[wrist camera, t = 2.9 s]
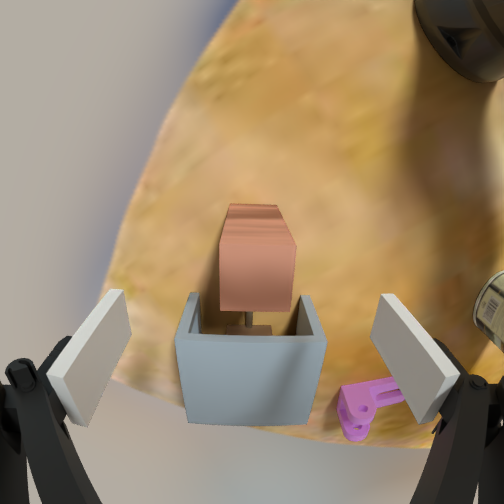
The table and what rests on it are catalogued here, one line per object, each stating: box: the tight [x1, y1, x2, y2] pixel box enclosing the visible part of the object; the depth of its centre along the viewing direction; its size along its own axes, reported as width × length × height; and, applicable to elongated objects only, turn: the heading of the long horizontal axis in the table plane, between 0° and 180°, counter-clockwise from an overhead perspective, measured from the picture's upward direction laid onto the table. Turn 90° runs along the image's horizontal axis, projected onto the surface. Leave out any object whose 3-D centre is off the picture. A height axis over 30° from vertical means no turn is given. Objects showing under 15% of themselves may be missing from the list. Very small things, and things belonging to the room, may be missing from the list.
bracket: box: [336, 376, 405, 441], centre depth 35 cm, size 13×6×7 cm, turn 93°
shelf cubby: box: [174, 293, 327, 426], centre depth 30 cm, size 12×13×8 cm
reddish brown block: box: [219, 204, 297, 336], centre depth 26 cm, size 19×5×12 cm, turn 178°
